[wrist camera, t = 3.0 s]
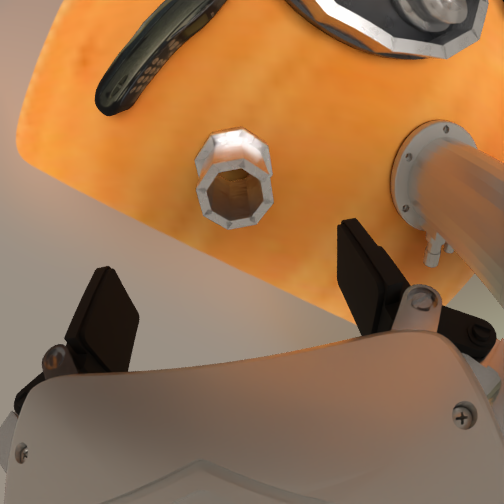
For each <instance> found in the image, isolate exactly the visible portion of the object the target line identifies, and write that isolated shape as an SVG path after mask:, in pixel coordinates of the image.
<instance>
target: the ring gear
mask: <svg viewBox="0 0 504 504" xmlns="http://www.w3.org/2000/svg"><path fill="white" fill-rule="evenodd" d="M297 1H298V2H299V3H300V4H301V5H302V6H303V7H304V8H305V10H306V11H307V12H308V13H309V14H310V15H311V16H312V17H313V19H314V20H315V21H317V22H319V23H321V24H323V25H325V26H327V27H329V28H331V29H333V30H335V31H337V32H339V33H341V34H343V35H345V36H347V37H349V38H351V39H353V40H354V41H356V42H358V43H360V44H361V45H363V46H365V47H367V48H368V49H370V50H372V51H373V52H375V53H388V54H399V55H409V56H417V57H424V58H437V59H448V58H450V57H451V56H453V55H454V54H456V53H458V52H459V51H461V50H463V49H465V48H466V47H468V46H470V45H471V44H473V43H475V42H476V41H478V40H479V39H480V35H481V32H482V28H483V24H484V21H485V17H486V13H487V8H488V4H489V3H488V0H465V1H466V4H467V17H466V19H465V20H464V21H463V22H461V23H454V25H453V28H452V30H450V31H448V32H446V33H444V34H443V35H441V36H439V37H437V38H435V39H433V40H432V41H430V42H428V43H427V42H422V41H416V40H409V39H402V38H394V37H393V36H391V35H390V34H388V33H387V32H385V31H384V30H382V29H381V28H379V27H377V26H376V25H374V24H372V23H371V22H369V21H367V20H366V19H364V18H362V17H360V16H359V15H357V14H355V13H353V12H351V11H350V10H348V9H346V8H344V7H342V6H340V5H338V4H337V3H336V2H335V1H334V0H297Z"/></svg>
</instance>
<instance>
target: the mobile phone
mask: <svg viewBox="0 0 504 504" xmlns="http://www.w3.org/2000/svg"><path fill="white" fill-rule="evenodd" d="M225 2H226V0H165V1H164V2H163V3H162V4H161V5H160V6H159V7H158V8H157V9H156V10H155V11H154V12H153V13H152V14H151V15H150V16H149V17H148V18H147V19H146V20H145V21H144V23H143V24H142V25H141V26H140V28H139V29H138V31H137V32H136V33H135V35H134V36H133V37H132V39H131V40H130V41H129V42H128V43H127V45H126V46H125V47H124V48H123V49H122V50H121V52H120V53H119V54H118V56H117V57H116V58H115V60H114V61H113V63H112V64H111V66H110V67H109V69H108V70H107V72H106V73H105V75H104V76H103V78H102V79H101V81H100V83H99V85H98V87H97V89H96V93H95V104H96V106H97V108H98V109H99V110H100V111H101V112H102V113H103V114H104V115H106V116H112V115H115V114H117V113H119V112H122V111H124V110H127V109H129V108H130V107H131V106H132V105H133V104H134V103H135V101H136V100H137V98H138V97H139V95H140V94H141V93H142V91H143V90H144V89H145V87H146V86H147V85H148V83H149V82H150V81H151V79H152V78H153V77H154V76H155V74H156V73H157V72H158V71H159V70H160V68H161V67H162V66H163V65H164V63H165V62H166V61H167V60H168V59H169V58H170V56H171V55H172V54H173V53H174V52H175V51H176V50H177V49H178V48H179V47H180V46H181V45H182V44H183V43H185V42H186V41H187V40H188V39H189V38H190V37H192V36H193V35H194V34H195V33H196V32H198V31H199V30H200V29H202V28H203V27H204V26H205V25H206V24H207V23H208V22H209V21H210V20H211V19H212V18H213V17H214V15H215V14H216V13H217V12H218V11H219V9H220V8H221V7H222V5H223V4H224V3H225Z"/></svg>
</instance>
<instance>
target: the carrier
mask: <svg viewBox="0 0 504 504" xmlns="http://www.w3.org/2000/svg"><path fill="white" fill-rule="evenodd" d="M285 1H286V2H287V3H288V4H289V5H290V6H291V7H292V8H293V9H294V10H295V11H296V12H298V13H299V14H300V15H301V16H302V17H304V18H305V19H306V20H307V21H309V22H310V23H311V24H313V25H314V26H316V27H317V28H319V29H320V30H321V31H323V32H324V33H326V34H328V35H330V36H331V37H333V38H335V39H337V40H338V41H340V42H342V43H344V44H347V45H349V46H351V47H353V48H355V49H358V50H361V51H364V52H366V53H369V54H373V55H377V56H381V57H386V58H393V59H424V57H417V56H409V55H399V54H388V53H375V52H373V51H372V50H370V49H368V48H367V47H365V46H363V45H361V44H360V43H358V42H356V41H354V40H353V39H351V38H349V37H347V36H345V35H343V34H341V33H339V32H337V31H335V30H333V29H331V28H329V27H327V26H325V25H323V24H321V23H319V22H317V21H315V20H314V19H313V17H312V16H311V15H310V14H309V13H308V12H307V11H306V10H305V8H304V7H303V6H302V5H301V4H300V3H299V2H298V1H297V0H285ZM334 1H335V2H336V3H337V4H338V5H340V6H342V7H344V8H346V9H348V10H350V11H351V12H353V13H355V14H357V15H359V16H360V17H362V18H364V19H366V20H367V21H369V22H371V23H372V24H374V25H376V26H377V27H379V28H381V29H382V30H384V31H385V32H387V33H388V34H390V35H391V36H393V37H394V38H402V39H409V40H416V41H422V42H427V43H428V42H430V41H432V40H433V39H435V38H437V37H439V36H441V35H443V34H444V33H446V32H448V31H450V30H452V28H453V25H454V23H461V22H463V21H464V20H465V19H466V17H467V4H466V1H465V0H334Z"/></svg>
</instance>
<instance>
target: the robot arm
mask: <svg viewBox="0 0 504 504" xmlns="http://www.w3.org/2000/svg"><path fill="white" fill-rule="evenodd" d="M391 194H392V198H393V203H394V205H395V207H396V209H397V211H398V213H399V214H400V215H401V217H402V218H403V219H404V220H405V221H406V222H407V223H408V224H409V225H411V226H412V227H414V228H416V229H419V230H422V231H426V237H425V238H426V240H427V241H428V243H427V247H426V249H425V254H424V259H423V263H424V264H425V265H426V266H428V267H436V266H437V265H438V262H439V258H440V253H441V246H442V245H443V244H444V248H443V250H444V251H445V252H446V253H453V251H454V250H455V251H456V253H457V254H458V255H459V256H460V257H461V258H462V259H463V260H464V261H465V262H466V264H467V265H468V266H469V267H470V268H471V269H472V270H473V272H474V273H475V274H476V275H477V276H478V277H479V279H480V280H481V281H482V282H483V283H484V285H485V286H486V287H487V288H488V289H489V291H490V292H491V293H492V295H493V296H494V297H495V298H496V300H497V301H498V302H499V304H500V305H501V306H502V307H503V308H504V163H502V162H500V161H498V160H497V159H495V158H493V157H491V156H489V155H487V154H485V153H484V152H482V151H480V150H478V149H477V147H476V144H475V142H474V140H473V138H472V137H471V136H470V134H469V133H468V132H467V131H466V130H465V129H464V128H463V127H461V126H459V125H457V124H455V123H452V122H450V121H445V120H435V121H430V122H427V123H425V124H423V125H421V126H420V127H418V128H417V129H415V130H414V131H413V132H412V133H411V134H410V135H409V136H408V137H407V138H406V140H405V141H404V143H403V144H402V146H401V147H400V149H399V152H398V154H397V156H396V158H395V162H394V165H393V169H392V175H391ZM337 281H338V285H339V287H340V289H341V291H342V293H343V295H344V298H345V300H346V302H347V304H348V306H349V308H350V311H351V313H352V315H353V317H354V320H355V322H356V324H357V326H358V329H359V331H360V333H361V335H362V336H360V337H356V338H352V339H347V340H343V341H338V342H334V343H329V344H325V345H320V346H316V347H311V348H306V349H301V350H296V351H291V352H286V353H281V354H275V355H270V356H264V357H258V358H252V359H245V360H239V361H233V362H226V363H218V364H210V365H202V366H193V367H183V368H174V369H161V370H150V371H135V372H134V371H133V372H128V368H129V363H130V359H131V354H132V349H133V345H134V340H135V336H136V332H137V328H138V324H139V314H138V312H137V310H136V308H135V306H134V305H133V303H132V301H131V299H130V298H129V296H128V294H127V292H126V290H125V288H124V287H123V285H122V283H121V281H120V279H119V277H118V275H117V273H116V271H115V270H114V269H111V268H110V267H109V266H106V267H101V268H97V269H96V270H95V272H94V274H93V276H92V278H91V280H90V282H89V284H88V286H87V288H86V290H85V292H84V294H83V296H82V299H81V301H80V303H79V305H78V307H77V310H76V312H75V314H74V316H73V319H72V321H71V323H70V325H69V328H68V330H67V333H66V335H65V338H64V339H65V340H66V341H67V345H66V346H65V345H63V344H58V345H55V346H53V347H51V348H50V349H49V350H48V351H47V352H46V354H45V355H44V357H43V359H42V369H43V372H42V373H41V374H40V375H38V376H37V377H36V378H35V379H34V380H32V381H31V382H30V383H29V384H28V385H27V386H25V388H23V389H22V390H21V391H20V392H19V393H18V394H17V395H16V398H15V401H14V410H15V412H13V411H11V412H10V414H9V415H8V417H7V418H6V420H5V421H4V423H3V424H2V426H1V427H0V464H1V466H2V468H3V469H4V471H5V472H6V474H7V475H6V483H5V498H4V504H504V339H503V338H502V339H501V341H500V340H498V339H497V338H496V332H495V330H494V328H493V327H492V325H491V324H490V323H488V322H487V321H485V320H483V319H480V318H477V317H475V316H472V315H469V314H465V313H463V312H460V311H457V310H454V309H451V308H448V307H445V306H443V305H442V299H441V296H440V294H439V293H438V292H437V291H436V290H435V289H433V288H432V287H430V286H427V285H422V284H417V285H412V286H410V284H409V283H408V281H407V280H406V279H405V277H404V276H403V274H402V273H401V272H400V270H399V269H398V267H397V266H396V265H395V263H394V262H393V261H392V259H391V258H390V257H389V255H388V254H387V253H386V251H385V250H384V249H383V248H382V247H381V246H377V244H376V243H375V242H374V240H373V239H372V238H371V237H370V235H369V234H368V233H367V231H366V230H365V229H364V228H363V226H362V225H361V224H360V223H359V221H358V220H357V219H356V218H353V219H347V220H342V222H341V224H340V225H338V226H337Z"/></svg>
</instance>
